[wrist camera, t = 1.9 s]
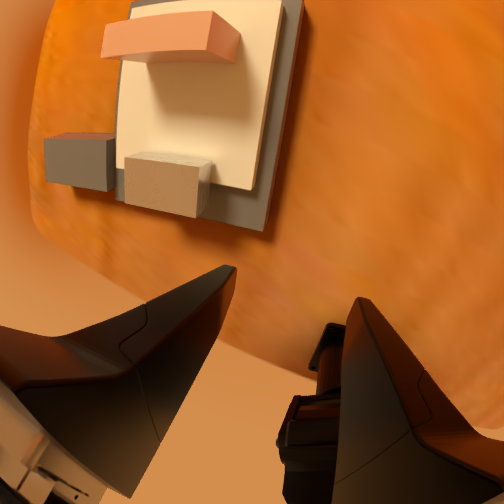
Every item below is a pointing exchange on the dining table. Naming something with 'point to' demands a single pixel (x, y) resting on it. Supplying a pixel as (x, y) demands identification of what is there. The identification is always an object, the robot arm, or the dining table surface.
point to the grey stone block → (167, 182)
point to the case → (220, 196)
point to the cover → (196, 81)
